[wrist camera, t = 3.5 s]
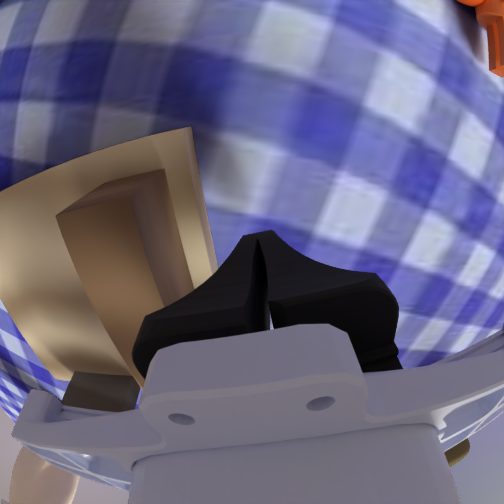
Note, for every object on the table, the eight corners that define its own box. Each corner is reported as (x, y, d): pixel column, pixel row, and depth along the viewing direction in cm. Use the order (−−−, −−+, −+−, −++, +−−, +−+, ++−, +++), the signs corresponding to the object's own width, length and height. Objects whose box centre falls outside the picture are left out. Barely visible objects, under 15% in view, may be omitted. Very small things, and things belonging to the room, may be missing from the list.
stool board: (241, 366, 20) (242, 434, 15) (62, 364, 21) (40, 410, 15) (191, 126, 12) (152, 137, 7) (-20, 202, 13) (-71, 237, 7)
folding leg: (224, 377, 17) (222, 428, 14) (179, 378, 17) (171, 427, 14) (166, 168, 11) (131, 196, 7) (102, 183, 11) (53, 216, 7)
